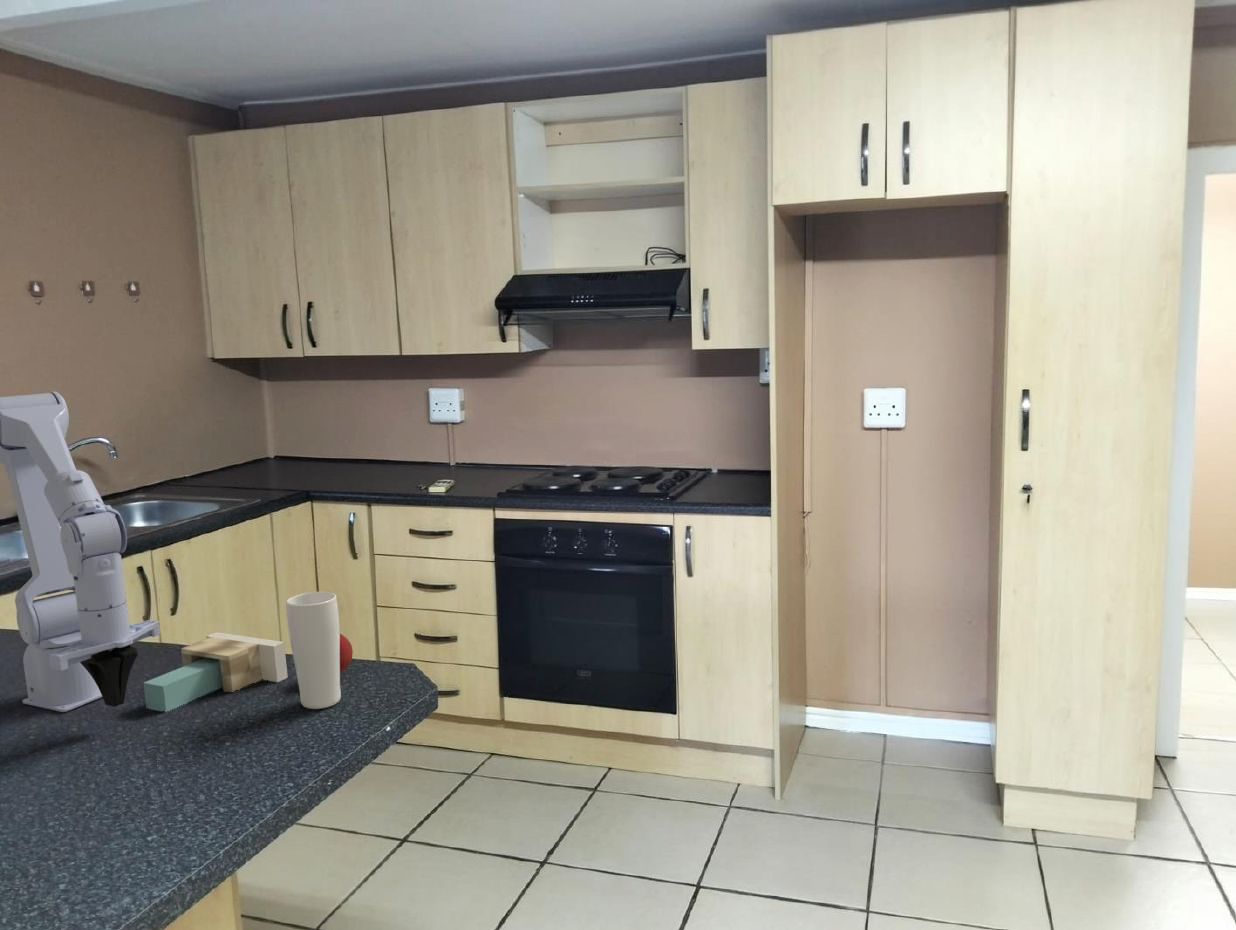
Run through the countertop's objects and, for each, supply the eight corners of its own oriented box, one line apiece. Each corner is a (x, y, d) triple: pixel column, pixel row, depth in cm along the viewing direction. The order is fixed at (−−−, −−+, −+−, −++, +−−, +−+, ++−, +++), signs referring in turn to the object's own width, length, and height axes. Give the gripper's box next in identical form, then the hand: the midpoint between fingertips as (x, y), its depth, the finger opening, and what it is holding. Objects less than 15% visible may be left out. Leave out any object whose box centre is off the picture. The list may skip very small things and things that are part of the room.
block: (185, 684, 147) (181, 648, 146) (215, 671, 152) (211, 636, 151) (232, 693, 142) (228, 656, 142) (262, 679, 147) (258, 644, 146)
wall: (210, 670, 152) (206, 636, 151) (220, 666, 154) (216, 632, 153) (277, 682, 146) (273, 646, 145) (287, 677, 148) (284, 642, 147)
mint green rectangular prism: (146, 710, 138) (143, 682, 138) (215, 680, 149) (213, 654, 148) (166, 714, 137) (163, 686, 136) (235, 683, 147) (232, 657, 146)
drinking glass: (308, 717, 133) (297, 608, 130) (287, 703, 138) (276, 599, 135) (355, 702, 137) (345, 597, 135) (333, 689, 142) (323, 588, 140)
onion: (343, 686, 143) (338, 633, 142) (306, 685, 144) (301, 632, 143) (361, 671, 149) (356, 620, 148) (325, 670, 150) (320, 619, 149)
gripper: (70, 625, 121) (84, 730, 123) (170, 592, 134) (181, 688, 136) (33, 618, 124) (47, 721, 126) (135, 587, 137) (146, 681, 139)
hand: (114, 703), depth 131 cm, fingers closed
